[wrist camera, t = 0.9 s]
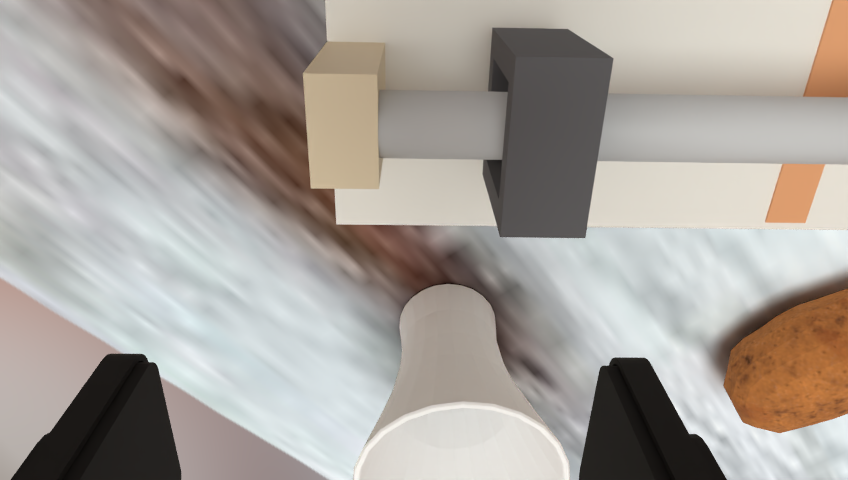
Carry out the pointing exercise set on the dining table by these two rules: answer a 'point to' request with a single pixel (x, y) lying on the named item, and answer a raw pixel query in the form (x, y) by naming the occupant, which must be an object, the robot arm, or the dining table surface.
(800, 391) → the potato
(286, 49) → the dining table surface
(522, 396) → the cup
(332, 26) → the pipe stand
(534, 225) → the collar
